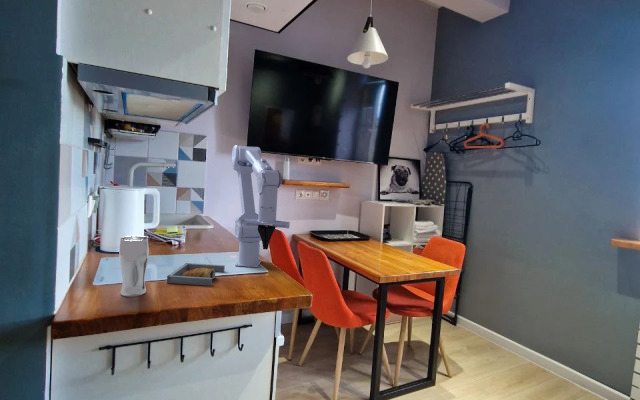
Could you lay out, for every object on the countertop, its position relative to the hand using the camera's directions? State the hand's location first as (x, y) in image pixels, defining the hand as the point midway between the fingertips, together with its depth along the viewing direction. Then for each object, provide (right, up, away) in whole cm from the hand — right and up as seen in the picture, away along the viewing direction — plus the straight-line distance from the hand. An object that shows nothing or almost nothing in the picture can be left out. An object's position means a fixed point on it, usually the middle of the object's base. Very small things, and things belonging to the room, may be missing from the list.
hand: (265, 248), depth 118 cm
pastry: (-19, -9, -5) cm, 22 cm away
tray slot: (-21, -8, -3) cm, 22 cm away
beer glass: (-33, -9, -20) cm, 39 cm away
